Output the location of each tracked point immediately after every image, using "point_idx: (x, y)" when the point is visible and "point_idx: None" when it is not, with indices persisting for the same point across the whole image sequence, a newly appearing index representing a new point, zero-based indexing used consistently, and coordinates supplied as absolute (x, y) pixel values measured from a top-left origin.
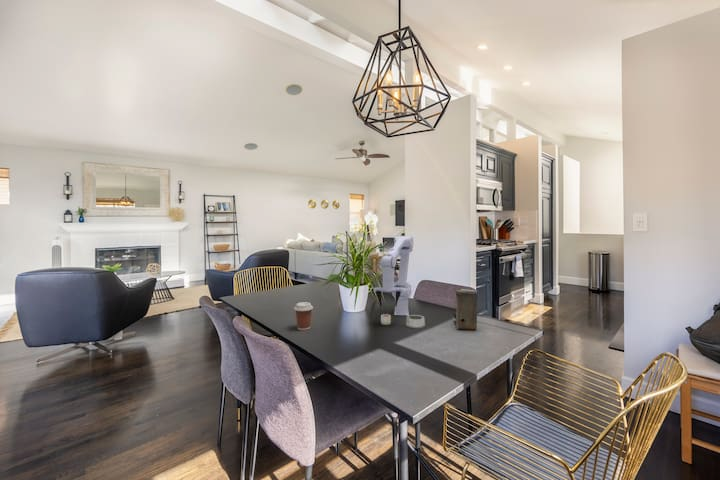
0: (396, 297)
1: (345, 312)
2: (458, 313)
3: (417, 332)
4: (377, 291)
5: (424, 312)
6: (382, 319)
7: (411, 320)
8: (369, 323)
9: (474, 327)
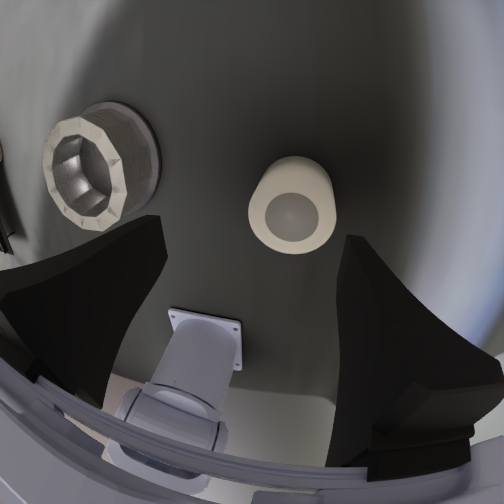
0: (54, 269)
1: None
2: None
3: (96, 45)
4: (446, 462)
5: None
6: (324, 179)
7: (93, 120)
8: (414, 188)
9: None
